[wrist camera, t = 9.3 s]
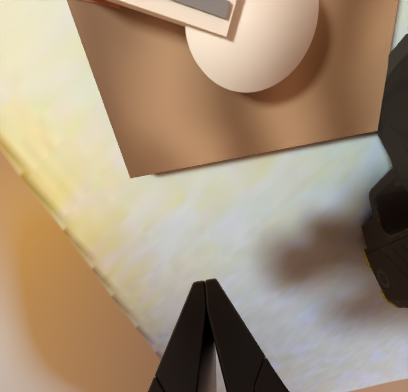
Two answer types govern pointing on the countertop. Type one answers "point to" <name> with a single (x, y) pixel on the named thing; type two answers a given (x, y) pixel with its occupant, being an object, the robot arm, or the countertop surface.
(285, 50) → the cream elongated piece
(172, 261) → the countertop surface
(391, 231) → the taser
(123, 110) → the panel
